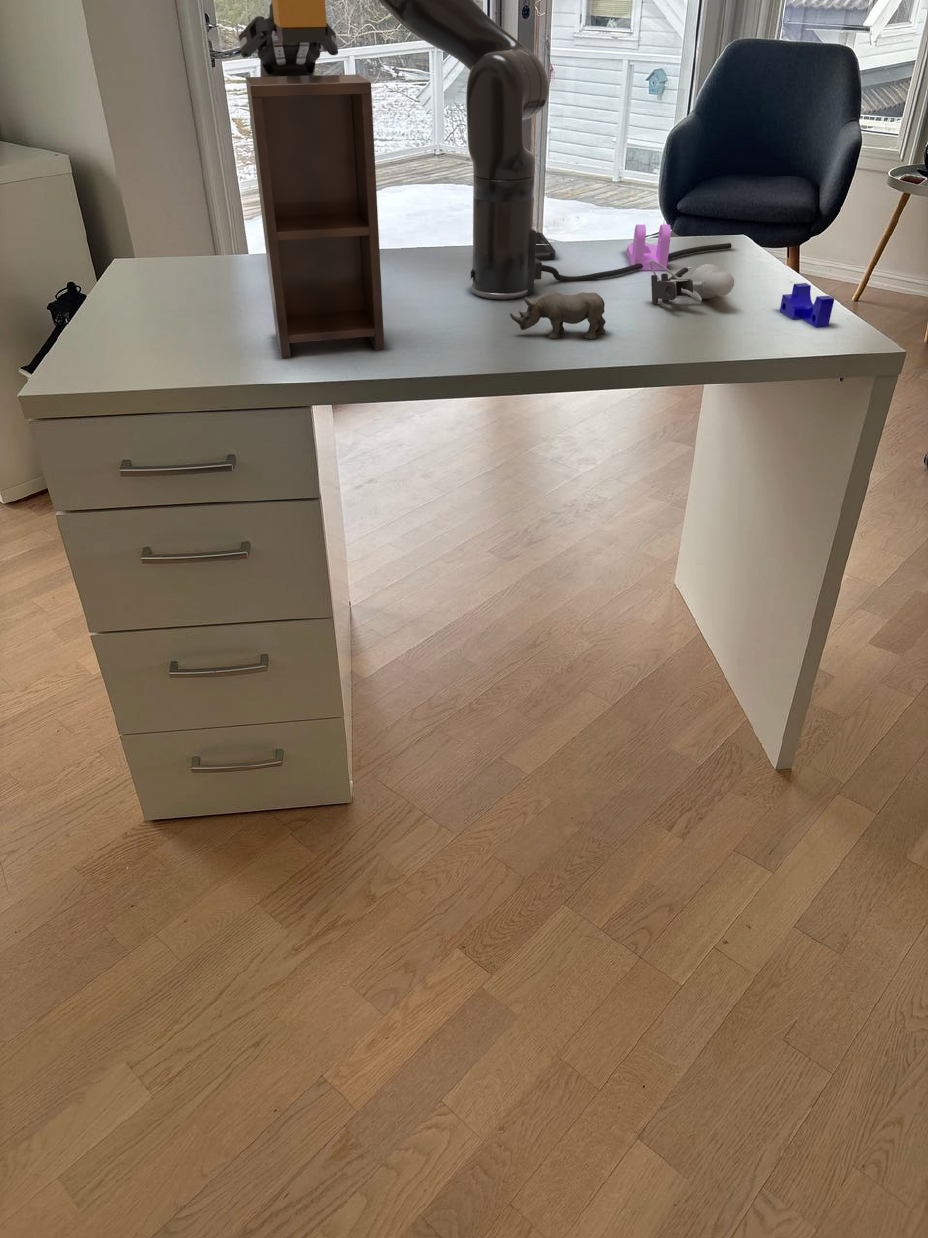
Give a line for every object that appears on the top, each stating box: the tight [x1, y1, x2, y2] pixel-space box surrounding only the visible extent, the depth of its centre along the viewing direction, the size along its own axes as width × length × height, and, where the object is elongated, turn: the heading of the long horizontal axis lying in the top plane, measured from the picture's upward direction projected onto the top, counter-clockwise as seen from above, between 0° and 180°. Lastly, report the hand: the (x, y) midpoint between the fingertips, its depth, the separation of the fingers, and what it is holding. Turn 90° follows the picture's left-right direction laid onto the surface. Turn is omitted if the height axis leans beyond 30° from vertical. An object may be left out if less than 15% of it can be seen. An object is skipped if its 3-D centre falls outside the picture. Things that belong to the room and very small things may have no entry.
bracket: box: [626, 224, 672, 271], centre depth 163 cm, size 13×6×7 cm, turn 179°
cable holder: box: [779, 282, 835, 328], centre depth 138 cm, size 8×4×4 cm, turn 13°
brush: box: [272, 0, 328, 43], centre depth 114 cm, size 5×18×5 cm, turn 14°
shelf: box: [245, 74, 385, 359], centre depth 121 cm, size 14×9×32 cm, turn 104°
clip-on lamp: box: [650, 260, 735, 305], centre depth 146 cm, size 12×6×18 cm
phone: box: [535, 231, 556, 261], centre depth 171 cm, size 8×1×15 cm
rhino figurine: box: [509, 291, 607, 340], centre depth 131 cm, size 4×14×6 cm, turn 89°
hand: (291, 6), depth 116 cm, fingers closed on brush, 2 cm apart
